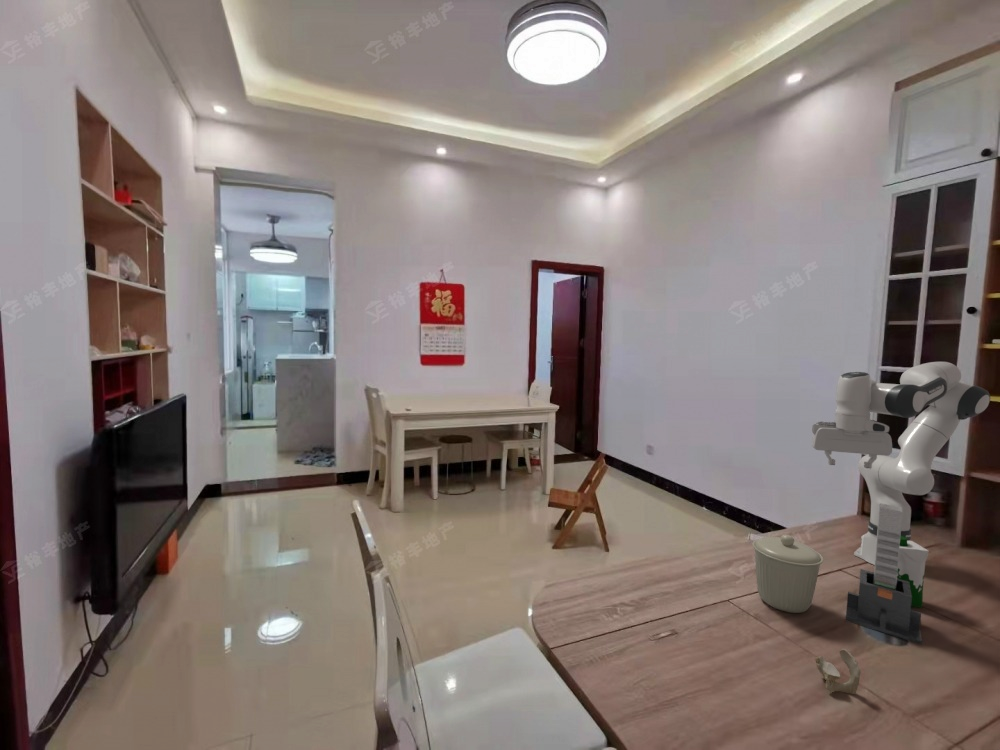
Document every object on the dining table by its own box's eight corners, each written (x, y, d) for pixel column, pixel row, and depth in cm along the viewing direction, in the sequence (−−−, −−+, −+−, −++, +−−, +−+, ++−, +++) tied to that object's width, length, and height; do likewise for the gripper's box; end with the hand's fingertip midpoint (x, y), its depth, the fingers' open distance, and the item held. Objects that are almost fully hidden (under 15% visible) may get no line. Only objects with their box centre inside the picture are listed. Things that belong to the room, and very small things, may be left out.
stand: (847, 597, 141) (850, 563, 141) (917, 618, 131) (920, 581, 131) (845, 620, 129) (848, 582, 128) (921, 644, 119) (925, 604, 118)
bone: (801, 674, 104) (818, 633, 106) (811, 679, 107) (827, 639, 109) (845, 702, 97) (862, 657, 99) (854, 706, 100) (870, 663, 102)
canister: (812, 596, 141) (817, 530, 140) (826, 628, 125) (831, 553, 124) (747, 582, 149) (751, 519, 148) (751, 610, 133) (756, 540, 131)
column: (873, 583, 133) (879, 503, 132) (894, 589, 130) (901, 507, 129) (873, 591, 129) (879, 508, 127) (895, 597, 126) (902, 512, 124)
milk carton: (876, 591, 146) (881, 530, 145) (908, 594, 144) (913, 533, 143) (894, 605, 138) (899, 541, 136) (928, 610, 136) (934, 545, 135)
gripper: (815, 422, 144) (813, 465, 145) (896, 427, 136) (893, 472, 137) (810, 419, 150) (808, 460, 151) (887, 424, 142) (884, 467, 143)
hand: (849, 466), depth 144 cm, fingers open, 8 cm apart
